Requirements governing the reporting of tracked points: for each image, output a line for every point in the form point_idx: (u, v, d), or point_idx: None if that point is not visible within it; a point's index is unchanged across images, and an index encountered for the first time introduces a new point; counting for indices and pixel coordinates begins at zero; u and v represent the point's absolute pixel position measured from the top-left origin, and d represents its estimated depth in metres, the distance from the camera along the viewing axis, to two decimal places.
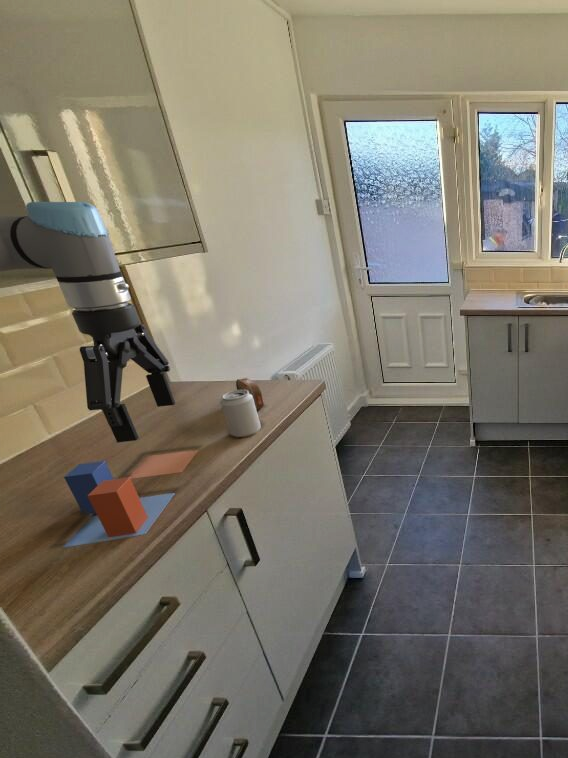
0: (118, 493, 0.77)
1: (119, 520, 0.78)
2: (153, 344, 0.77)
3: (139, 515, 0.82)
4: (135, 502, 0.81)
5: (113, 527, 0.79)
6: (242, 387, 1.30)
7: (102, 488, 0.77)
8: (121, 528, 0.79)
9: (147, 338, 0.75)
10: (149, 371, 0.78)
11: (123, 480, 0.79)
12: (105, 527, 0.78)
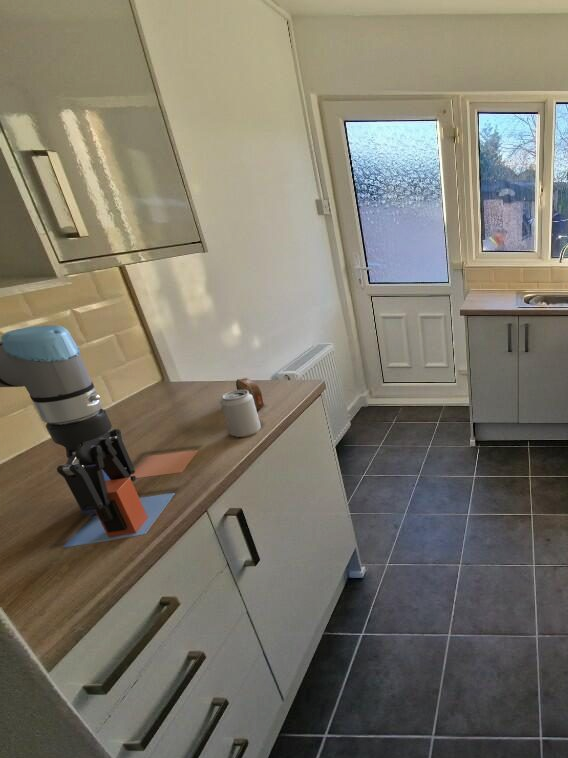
0: (118, 493, 0.77)
1: None
2: (124, 449, 0.81)
3: (139, 515, 0.82)
4: (135, 502, 0.81)
5: None
6: (242, 387, 1.30)
7: None
8: None
9: (119, 442, 0.80)
10: None
11: (123, 480, 0.79)
12: (105, 527, 0.78)
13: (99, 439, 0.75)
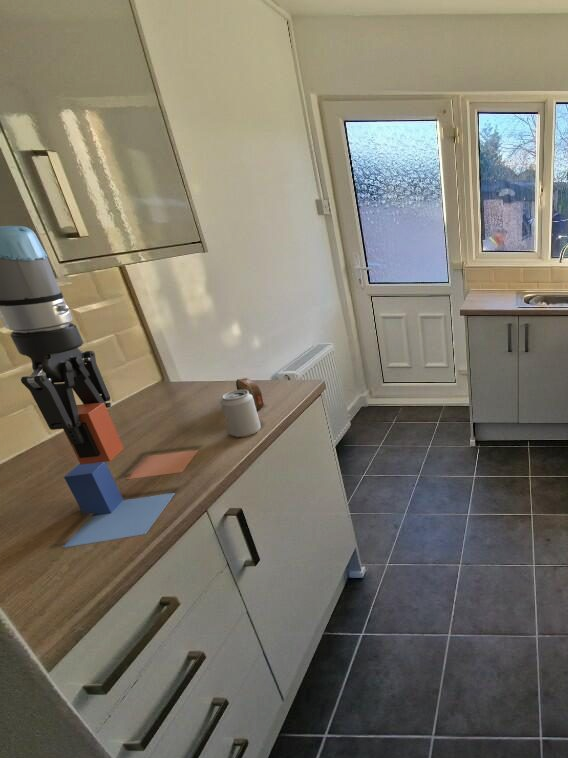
0: (90, 415, 0.73)
1: None
2: (98, 374, 0.77)
3: (114, 444, 0.78)
4: (109, 429, 0.77)
5: None
6: (242, 387, 1.30)
7: None
8: None
9: (93, 365, 0.76)
10: None
11: (96, 404, 0.75)
12: None
13: (69, 356, 0.71)
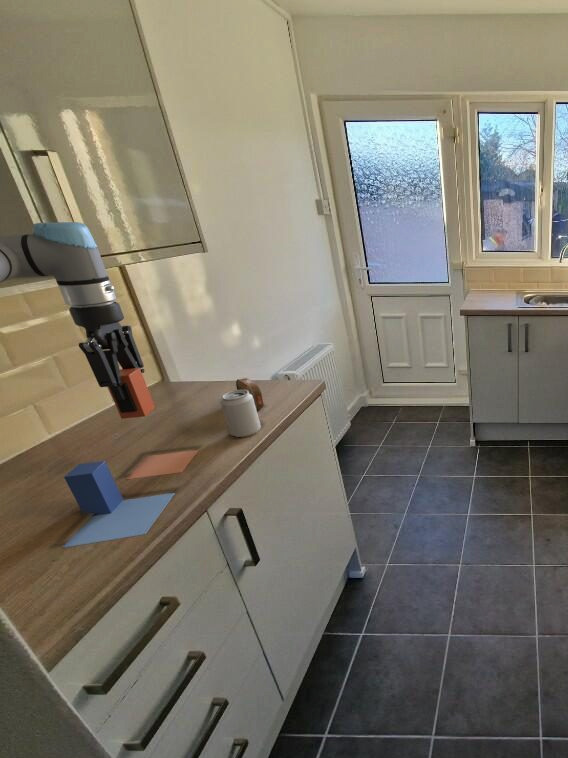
0: (130, 377, 0.89)
1: None
2: (134, 344, 0.93)
3: (147, 402, 0.94)
4: (144, 390, 0.93)
5: None
6: (242, 387, 1.30)
7: None
8: None
9: (130, 337, 0.92)
10: None
11: (134, 369, 0.92)
12: (118, 408, 0.91)
13: (113, 328, 0.87)
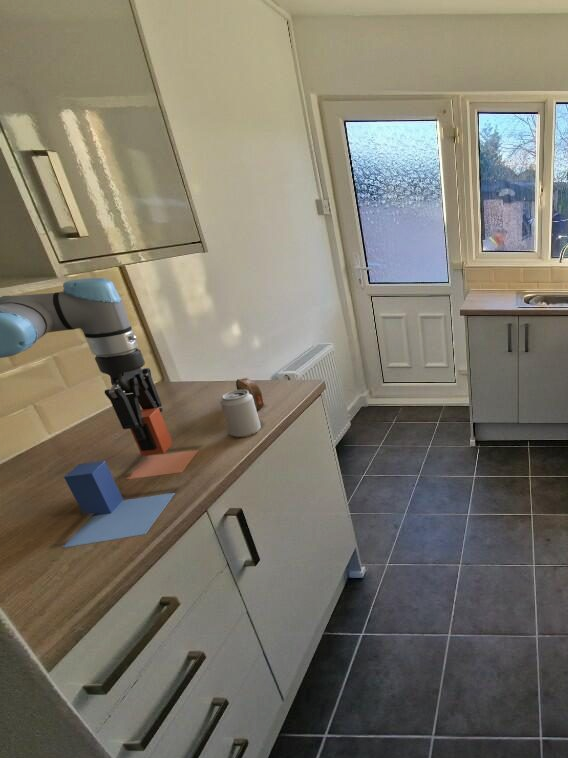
0: (150, 418, 0.95)
1: None
2: (153, 385, 0.99)
3: (166, 439, 1.00)
4: (163, 428, 0.99)
5: None
6: (242, 387, 1.30)
7: None
8: None
9: (149, 379, 0.98)
10: None
11: (153, 409, 0.97)
12: (139, 447, 0.96)
13: (135, 373, 0.93)
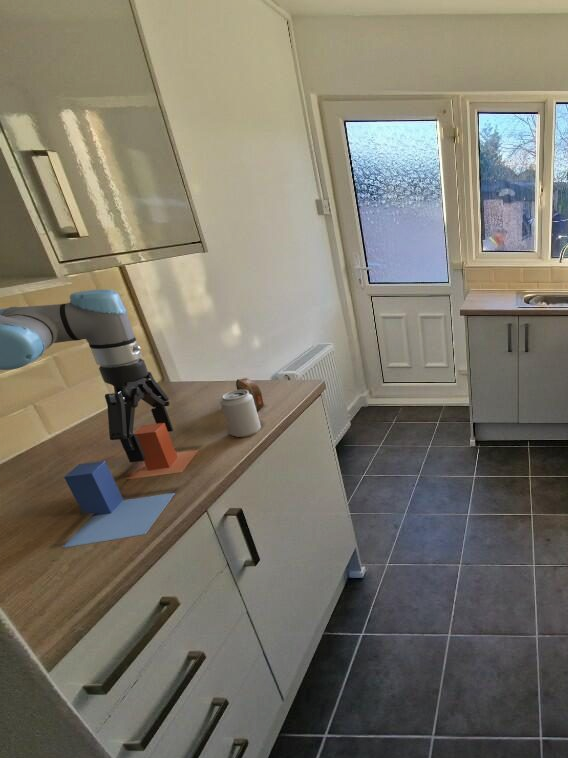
0: (156, 433, 0.97)
1: (156, 456, 0.98)
2: (157, 386, 1.01)
3: (171, 454, 1.02)
4: (168, 443, 1.01)
5: (151, 461, 0.98)
6: (242, 387, 1.30)
7: (143, 429, 0.97)
8: (158, 463, 0.99)
9: (153, 382, 0.99)
10: (153, 406, 1.02)
11: (159, 424, 0.99)
12: (145, 461, 0.98)
13: (138, 383, 0.94)
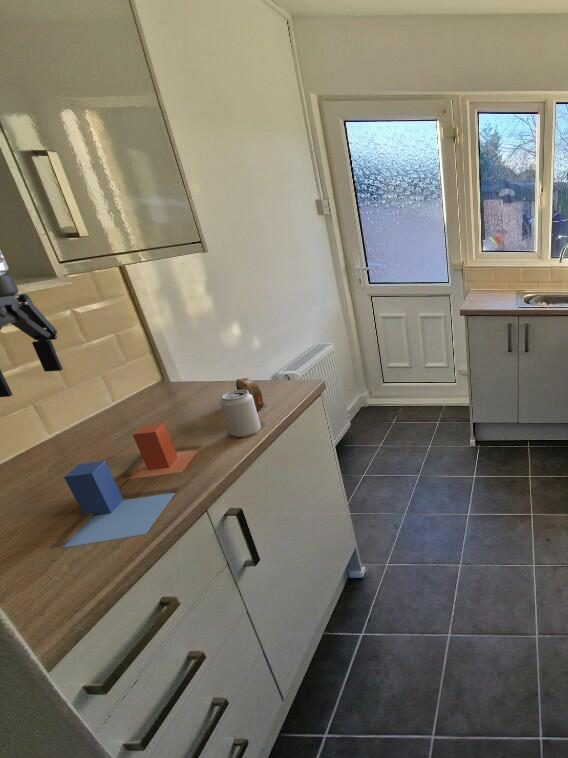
0: (156, 433, 0.97)
1: (156, 456, 0.98)
2: (38, 313, 0.85)
3: (171, 454, 1.02)
4: (168, 443, 1.01)
5: (151, 461, 0.98)
6: (242, 387, 1.30)
7: (143, 429, 0.97)
8: (158, 463, 0.99)
9: (31, 307, 0.83)
10: (35, 338, 0.86)
11: (159, 424, 0.99)
12: (145, 461, 0.98)
13: (5, 303, 0.78)
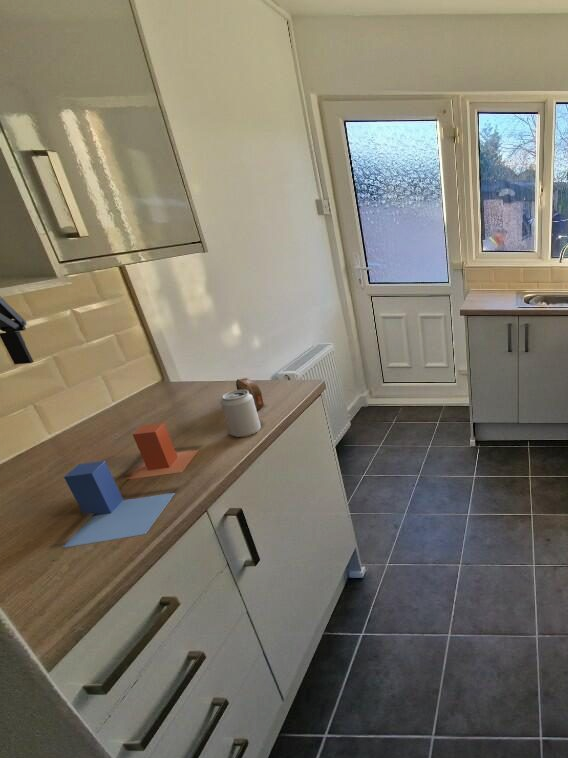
0: (156, 433, 0.97)
1: (156, 456, 0.98)
2: (4, 303, 0.81)
3: (171, 454, 1.02)
4: (168, 443, 1.01)
5: (151, 461, 0.98)
6: (242, 387, 1.30)
7: (143, 429, 0.97)
8: (158, 463, 0.99)
9: None
10: (3, 329, 0.83)
11: (159, 424, 0.99)
12: (145, 461, 0.98)
13: None
